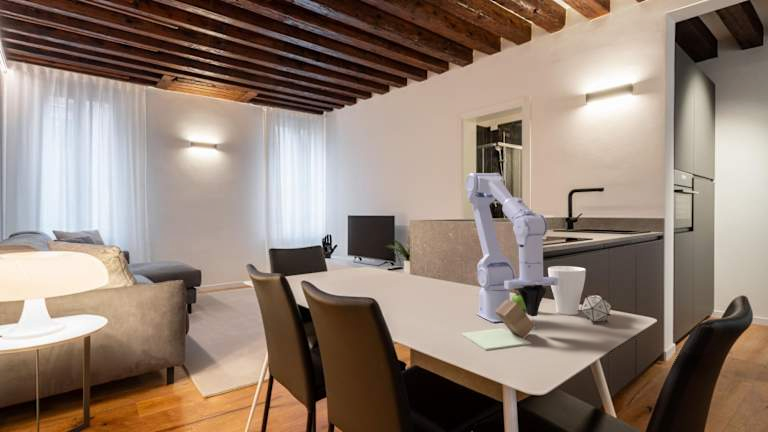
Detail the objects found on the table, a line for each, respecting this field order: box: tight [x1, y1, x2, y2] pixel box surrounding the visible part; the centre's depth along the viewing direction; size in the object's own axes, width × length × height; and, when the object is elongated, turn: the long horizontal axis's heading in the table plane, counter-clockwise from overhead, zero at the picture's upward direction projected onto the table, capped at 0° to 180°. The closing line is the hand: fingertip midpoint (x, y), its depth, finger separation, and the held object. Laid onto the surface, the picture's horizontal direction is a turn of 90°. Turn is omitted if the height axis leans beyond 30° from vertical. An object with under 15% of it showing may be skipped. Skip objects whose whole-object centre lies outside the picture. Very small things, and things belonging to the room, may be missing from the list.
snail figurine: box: [511, 277, 527, 312], centre depth 122 cm, size 5×6×12 cm
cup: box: [547, 265, 587, 316], centre depth 118 cm, size 10×10×14 cm
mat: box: [460, 327, 532, 351], centre depth 95 cm, size 12×12×1 cm
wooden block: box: [495, 299, 536, 340], centre depth 97 cm, size 4×4×8 cm
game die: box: [578, 292, 615, 325], centre depth 107 cm, size 9×8×10 cm
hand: (532, 315), depth 98 cm, fingers closed
